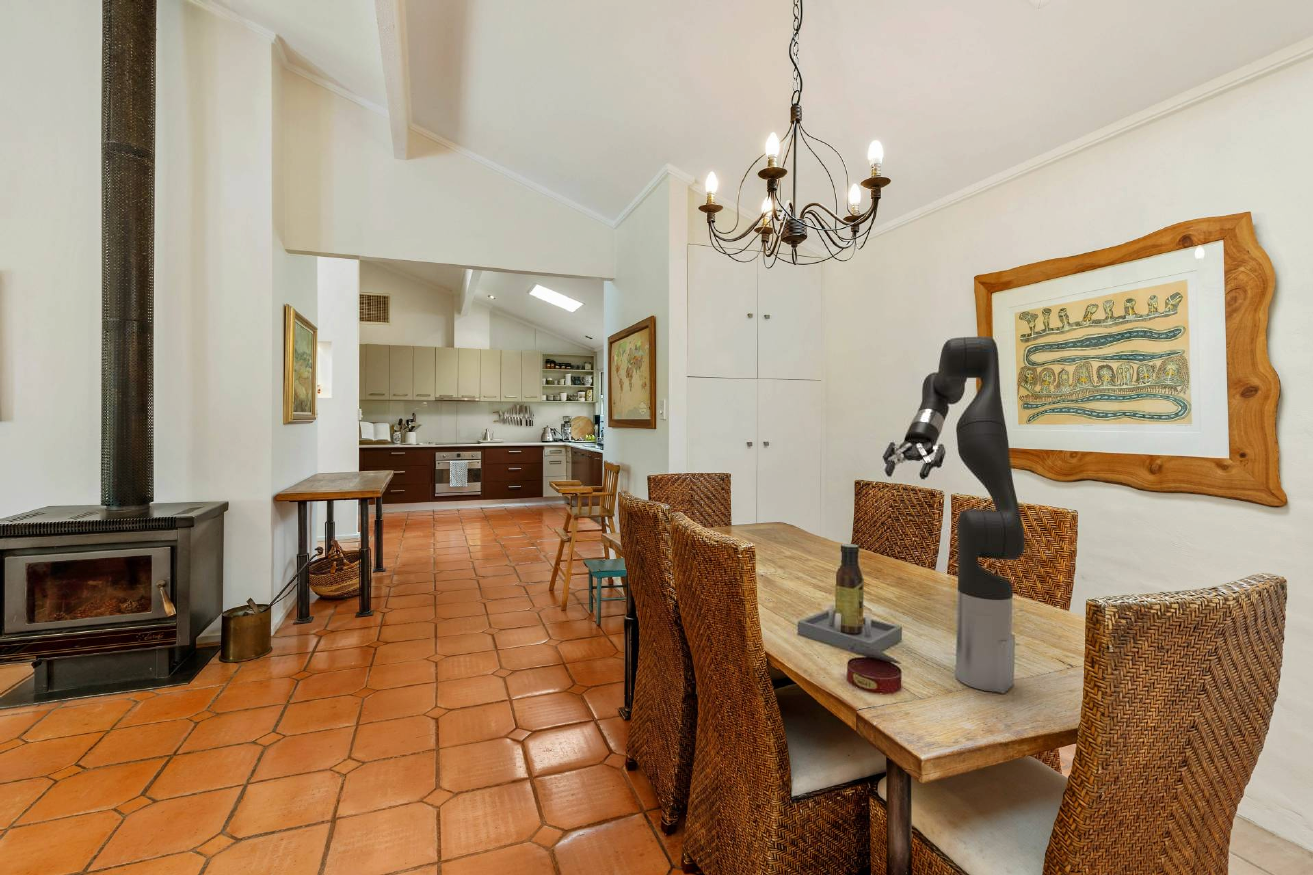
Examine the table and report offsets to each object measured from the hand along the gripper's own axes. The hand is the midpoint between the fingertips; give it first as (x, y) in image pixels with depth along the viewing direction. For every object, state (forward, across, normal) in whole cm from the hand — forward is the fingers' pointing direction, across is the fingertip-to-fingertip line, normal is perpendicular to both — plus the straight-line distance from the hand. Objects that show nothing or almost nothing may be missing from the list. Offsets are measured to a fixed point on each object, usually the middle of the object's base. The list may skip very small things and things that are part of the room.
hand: (904, 475), depth 145 cm
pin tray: (+40, -3, +11) cm, 42 cm away
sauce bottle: (+40, -3, +10) cm, 41 cm away
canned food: (+54, +12, -1) cm, 55 cm away
